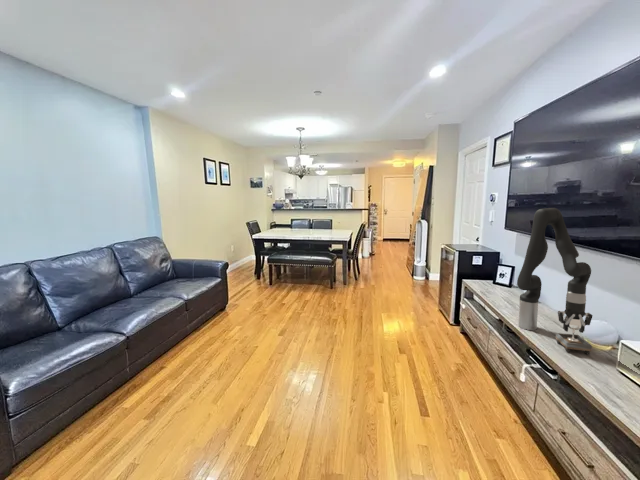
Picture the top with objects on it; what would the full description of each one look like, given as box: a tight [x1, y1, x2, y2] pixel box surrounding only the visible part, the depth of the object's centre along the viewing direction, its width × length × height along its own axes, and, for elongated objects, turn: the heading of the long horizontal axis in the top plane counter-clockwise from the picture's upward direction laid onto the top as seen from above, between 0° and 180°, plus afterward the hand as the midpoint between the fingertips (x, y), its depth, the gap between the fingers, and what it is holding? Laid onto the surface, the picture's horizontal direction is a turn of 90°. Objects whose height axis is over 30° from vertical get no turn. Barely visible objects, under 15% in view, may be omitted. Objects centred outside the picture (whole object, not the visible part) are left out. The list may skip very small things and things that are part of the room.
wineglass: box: [567, 318, 582, 342], centre depth 145 cm, size 6×6×12 cm
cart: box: [555, 332, 593, 355], centre depth 146 cm, size 12×10×5 cm
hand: (573, 331), depth 145 cm, fingers closed on wineglass, 5 cm apart
